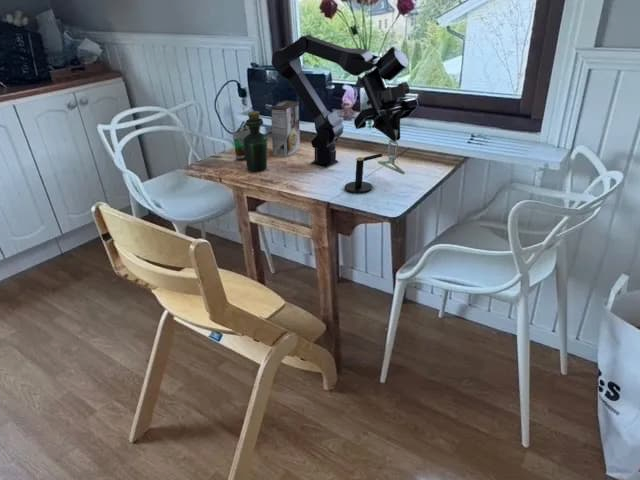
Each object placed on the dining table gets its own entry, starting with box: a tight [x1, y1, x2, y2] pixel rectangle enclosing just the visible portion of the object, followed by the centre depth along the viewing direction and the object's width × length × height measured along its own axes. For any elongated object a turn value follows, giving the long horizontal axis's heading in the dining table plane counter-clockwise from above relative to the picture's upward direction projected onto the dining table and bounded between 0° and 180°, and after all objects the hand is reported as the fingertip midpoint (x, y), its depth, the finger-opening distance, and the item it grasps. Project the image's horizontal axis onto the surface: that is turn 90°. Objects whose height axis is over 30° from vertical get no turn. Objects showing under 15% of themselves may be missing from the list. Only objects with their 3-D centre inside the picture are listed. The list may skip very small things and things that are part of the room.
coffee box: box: [270, 100, 301, 158], centre depth 180 cm, size 9×6×16 cm
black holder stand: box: [344, 152, 384, 195], centre depth 151 cm, size 8×12×9 cm
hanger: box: [377, 129, 405, 175], centre depth 151 cm, size 1×12×11 cm, turn 23°
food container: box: [232, 122, 250, 162], centre depth 182 cm, size 12×6×10 cm, turn 160°
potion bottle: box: [243, 110, 269, 173], centre depth 169 cm, size 8×8×18 cm
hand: (397, 139), depth 148 cm, fingers closed on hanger, 1 cm apart
